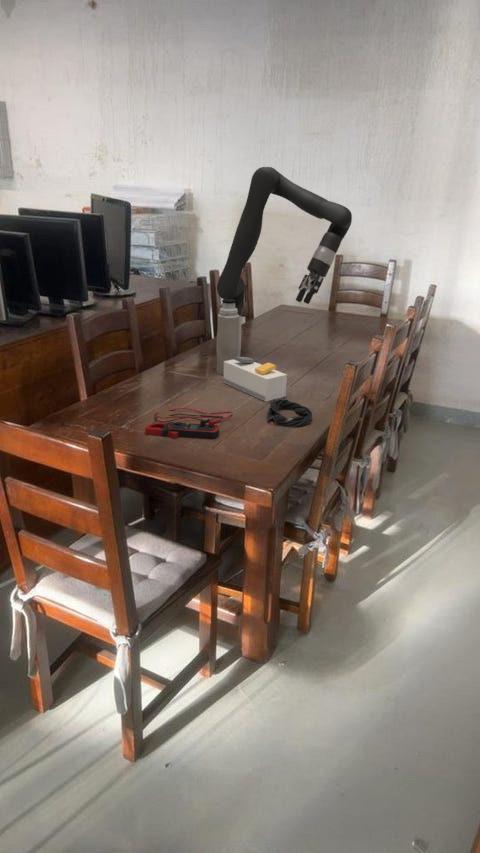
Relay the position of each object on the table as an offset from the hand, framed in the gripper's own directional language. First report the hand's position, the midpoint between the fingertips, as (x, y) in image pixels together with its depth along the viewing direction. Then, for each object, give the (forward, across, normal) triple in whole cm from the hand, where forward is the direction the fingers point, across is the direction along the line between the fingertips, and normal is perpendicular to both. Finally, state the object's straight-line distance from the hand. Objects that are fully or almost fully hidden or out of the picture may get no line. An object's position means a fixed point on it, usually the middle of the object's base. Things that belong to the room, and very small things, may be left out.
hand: (301, 302), depth 218 cm
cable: (+38, +37, 0) cm, 53 cm away
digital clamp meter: (+52, +37, -28) cm, 70 cm away
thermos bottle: (+36, -9, -12) cm, 39 cm away
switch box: (+36, +11, -6) cm, 38 cm away
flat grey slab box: (+28, +7, -12) cm, 32 cm away
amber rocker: (+28, +18, -7) cm, 34 cm away
